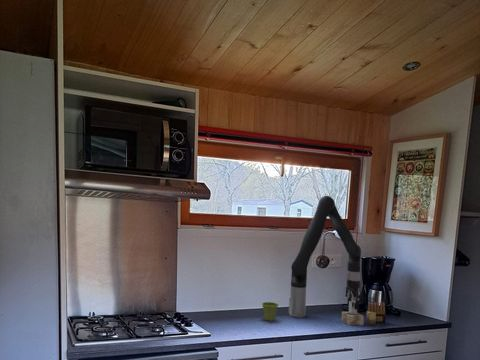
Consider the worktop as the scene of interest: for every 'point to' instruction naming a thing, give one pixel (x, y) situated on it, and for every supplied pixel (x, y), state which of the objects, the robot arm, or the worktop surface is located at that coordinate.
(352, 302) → the square bit
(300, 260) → the robot arm
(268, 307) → the plant pot
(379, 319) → the ammunition clip
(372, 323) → the round bit
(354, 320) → the bit holder
